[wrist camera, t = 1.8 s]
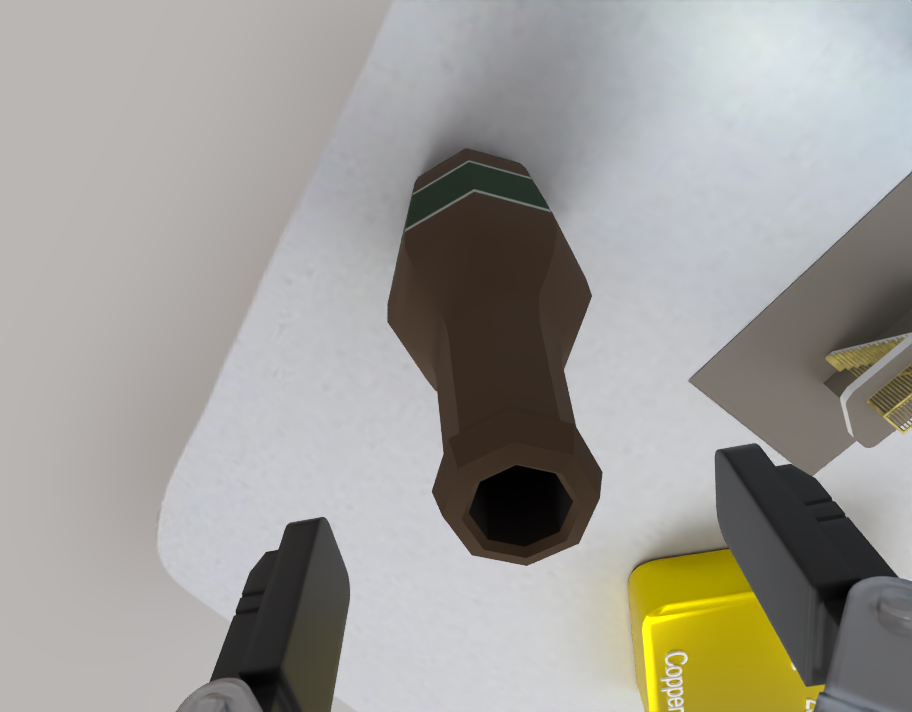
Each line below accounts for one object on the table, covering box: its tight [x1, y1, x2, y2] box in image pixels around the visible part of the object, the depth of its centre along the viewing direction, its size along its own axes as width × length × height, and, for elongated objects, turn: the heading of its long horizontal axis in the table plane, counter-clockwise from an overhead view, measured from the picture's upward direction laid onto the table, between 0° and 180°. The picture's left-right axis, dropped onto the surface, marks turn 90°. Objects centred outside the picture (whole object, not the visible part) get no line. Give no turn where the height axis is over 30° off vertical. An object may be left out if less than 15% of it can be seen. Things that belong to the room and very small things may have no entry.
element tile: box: [628, 549, 825, 712], centre depth 47 cm, size 15×15×5 cm
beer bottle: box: [387, 149, 602, 566], centre depth 24 cm, size 8×8×24 cm
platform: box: [689, 173, 912, 476], centre depth 35 cm, size 12×18×7 cm, turn 142°
